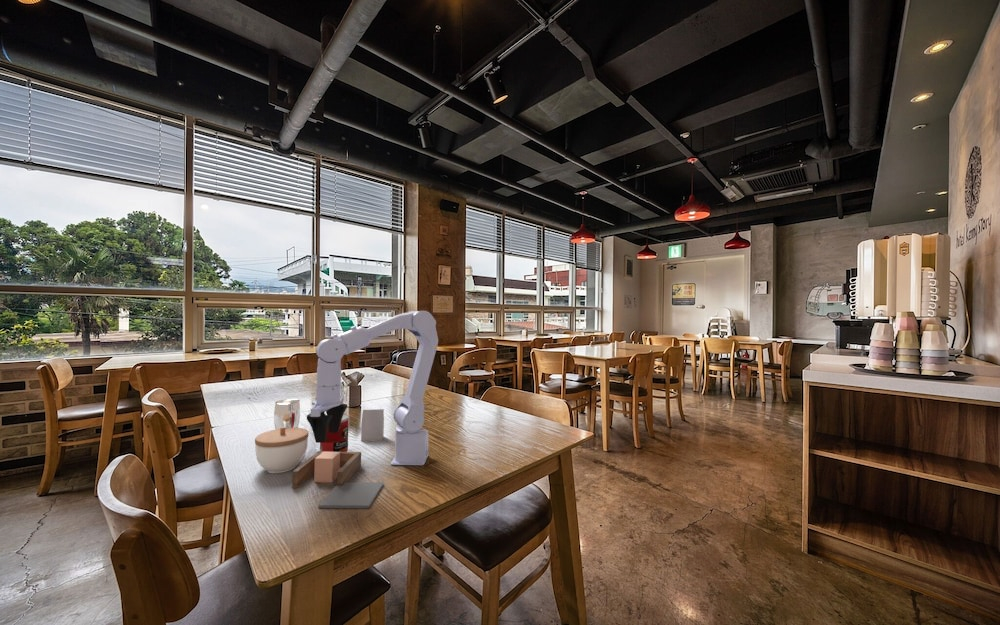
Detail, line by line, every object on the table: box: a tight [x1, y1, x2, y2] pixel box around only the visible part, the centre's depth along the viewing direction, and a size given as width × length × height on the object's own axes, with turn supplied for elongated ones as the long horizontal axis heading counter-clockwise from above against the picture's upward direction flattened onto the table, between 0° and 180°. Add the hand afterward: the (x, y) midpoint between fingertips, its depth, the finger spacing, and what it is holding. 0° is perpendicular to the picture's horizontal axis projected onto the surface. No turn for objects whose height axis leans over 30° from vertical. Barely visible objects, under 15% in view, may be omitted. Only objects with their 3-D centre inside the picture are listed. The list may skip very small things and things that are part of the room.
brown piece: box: [291, 450, 362, 489], centre depth 95 cm, size 12×13×4 cm
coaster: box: [317, 481, 385, 509], centre depth 85 cm, size 11×11×1 cm
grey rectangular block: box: [360, 408, 385, 442], centre depth 124 cm, size 4×7×10 cm, turn 100°
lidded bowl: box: [254, 427, 309, 474], centre depth 99 cm, size 13×13×11 cm
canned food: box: [319, 414, 349, 452], centre depth 110 cm, size 8×8×11 cm
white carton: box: [273, 398, 301, 430], centre depth 112 cm, size 7×7×15 cm
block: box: [313, 452, 341, 483], centre depth 94 cm, size 4×4×6 cm
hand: (327, 437), depth 94 cm, fingers open, 7 cm apart
